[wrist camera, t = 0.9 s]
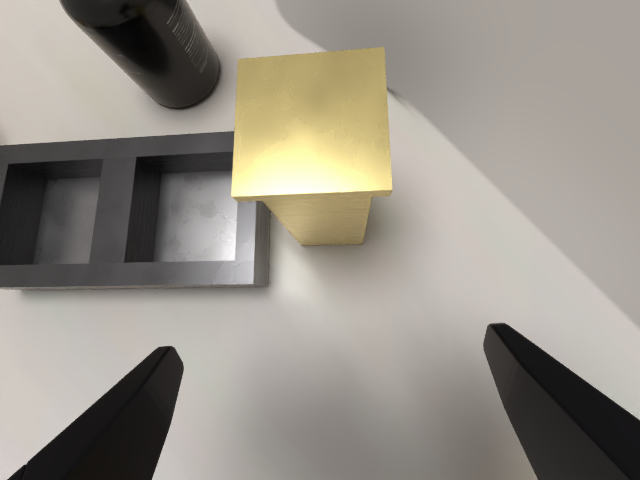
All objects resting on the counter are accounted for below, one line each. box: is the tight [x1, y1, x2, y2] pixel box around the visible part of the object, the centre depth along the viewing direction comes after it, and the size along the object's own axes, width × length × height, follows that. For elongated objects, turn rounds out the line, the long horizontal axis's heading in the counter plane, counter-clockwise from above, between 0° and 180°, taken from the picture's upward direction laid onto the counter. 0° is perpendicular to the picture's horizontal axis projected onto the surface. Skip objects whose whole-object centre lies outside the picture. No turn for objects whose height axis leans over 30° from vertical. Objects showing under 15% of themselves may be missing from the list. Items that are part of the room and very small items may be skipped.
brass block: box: [231, 47, 392, 245], centre depth 17 cm, size 6×6×12 cm
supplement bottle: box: [59, 0, 219, 108], centre depth 21 cm, size 7×7×12 cm
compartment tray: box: [0, 131, 270, 290], centre depth 23 cm, size 10×20×4 cm, turn 90°
